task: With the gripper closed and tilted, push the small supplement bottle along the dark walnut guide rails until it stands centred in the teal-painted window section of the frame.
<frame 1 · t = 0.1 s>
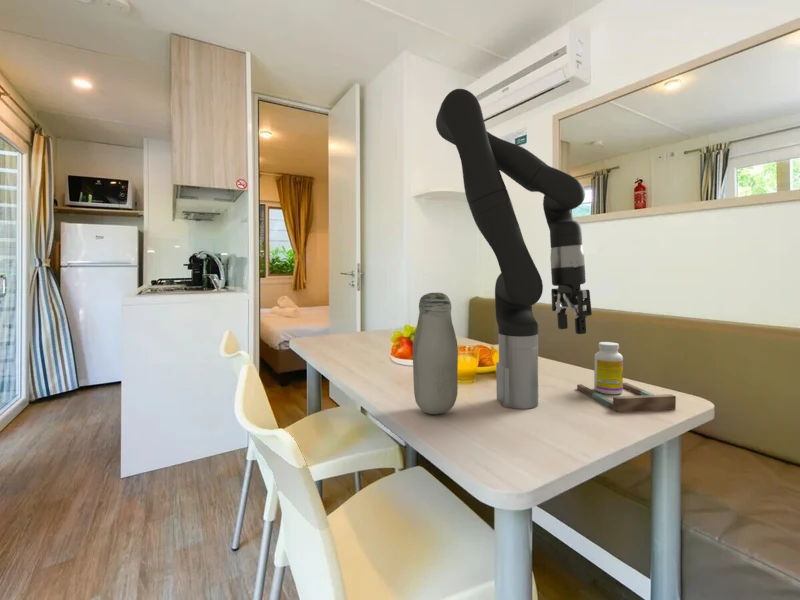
hand: (571, 331, 93), 17 cm above the table, tool pointing down, fingers open, 8 cm apart
supplement bottle: (608, 392, 101), on the table
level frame: (622, 398, 95), on the table
grey bottle: (436, 412, 89), on the table
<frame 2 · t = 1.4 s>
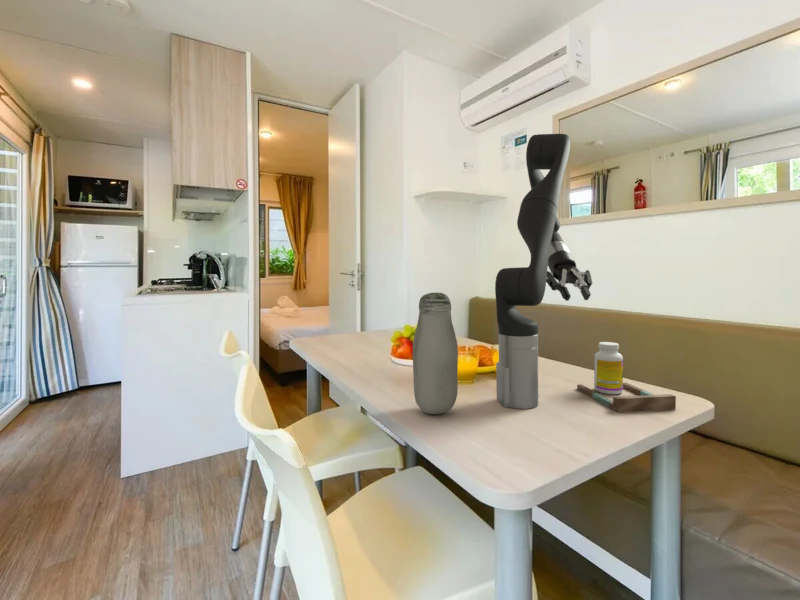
hand: (578, 298, 109), 24 cm above the table, tool tilted 45°, fingers open, 5 cm apart
nothing on the table moved.
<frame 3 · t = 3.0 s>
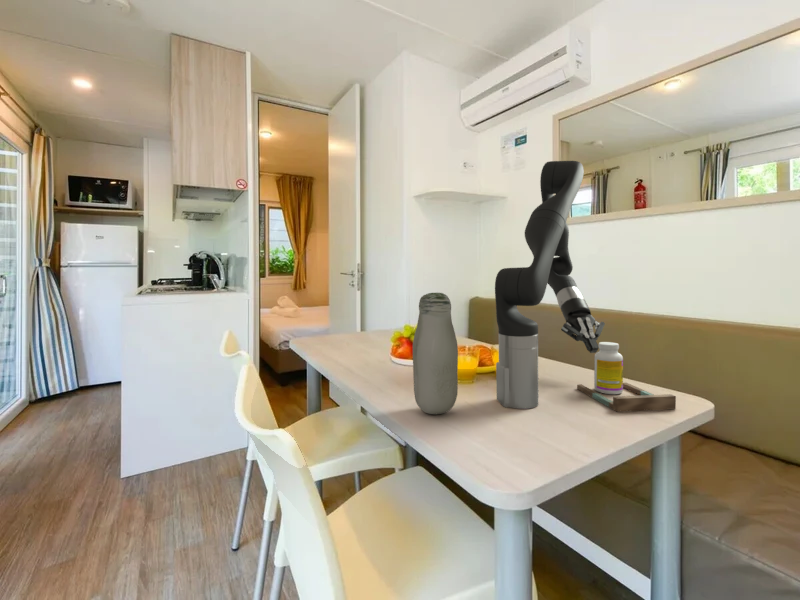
hand: (594, 351, 107), 9 cm above the table, tool tilted 45°, fingers closed
nothing on the table moved.
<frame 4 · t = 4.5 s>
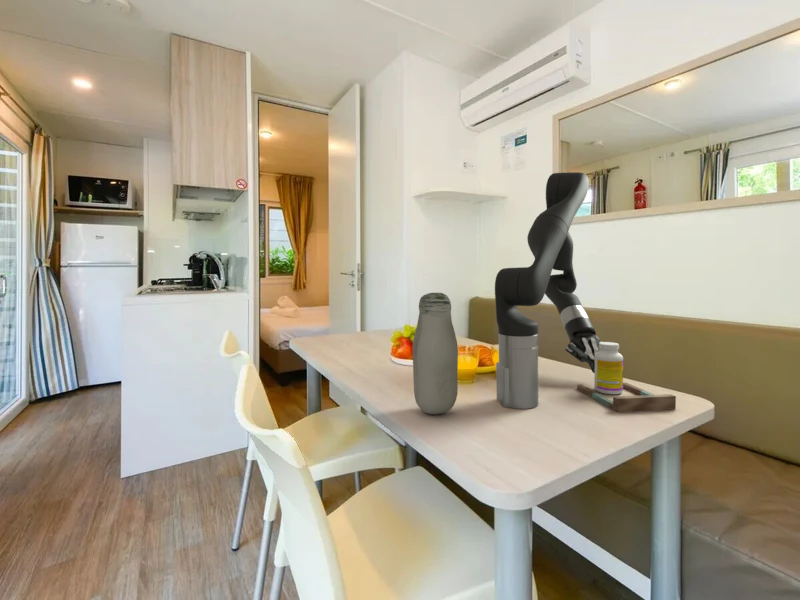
hand: (599, 373, 104), 4 cm above the table, tool tilted 45°, fingers closed
supplement bottle: (608, 392, 101), on the table, touching gripper
everything else where it was.
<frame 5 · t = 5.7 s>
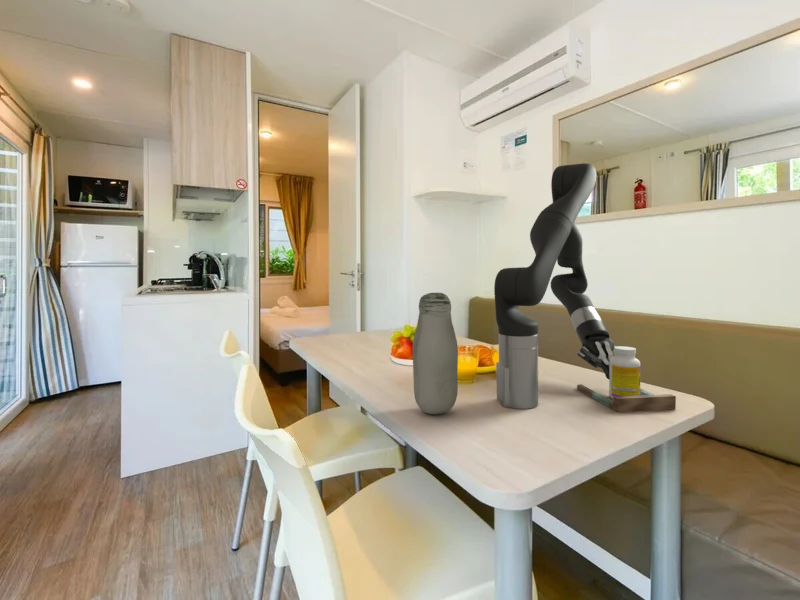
hand: (614, 379, 98), 4 cm above the table, tool tilted 45°, fingers closed
supplement bottle: (624, 399, 94), on the table, touching gripper
everything else where it was.
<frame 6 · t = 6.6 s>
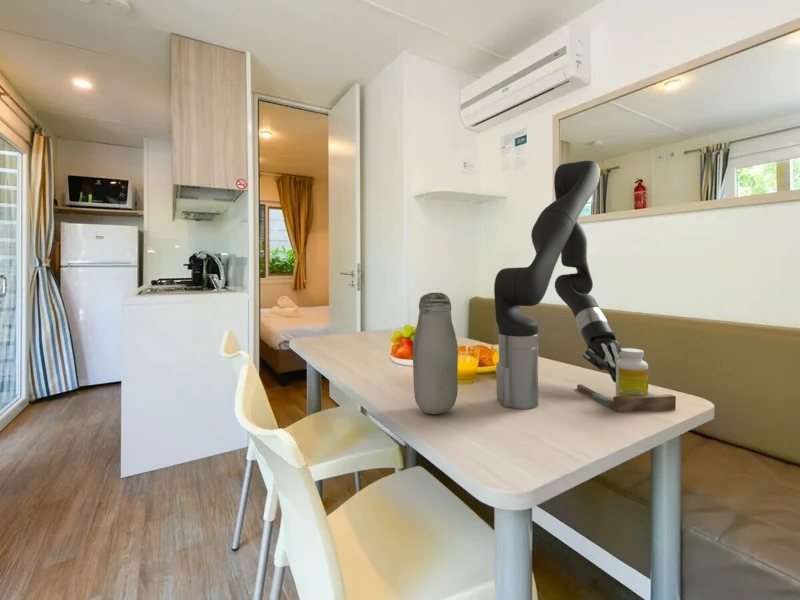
hand: (621, 382, 95), 4 cm above the table, tool tilted 45°, fingers closed
supplement bottle: (631, 403, 92), on the table, touching gripper
everything else where it was.
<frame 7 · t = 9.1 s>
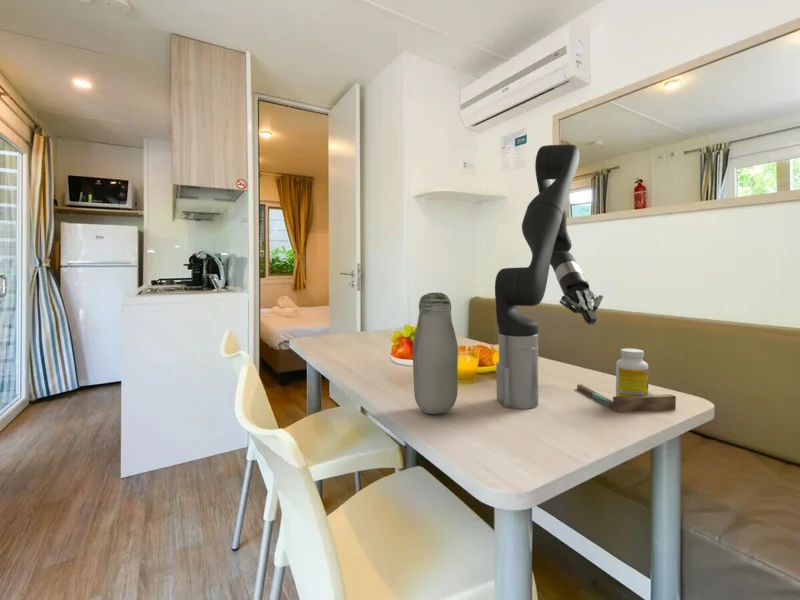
hand: (592, 322, 107), 17 cm above the table, tool tilted 45°, fingers closed
supplement bottle: (631, 403, 92), on the table
everything else where it was.
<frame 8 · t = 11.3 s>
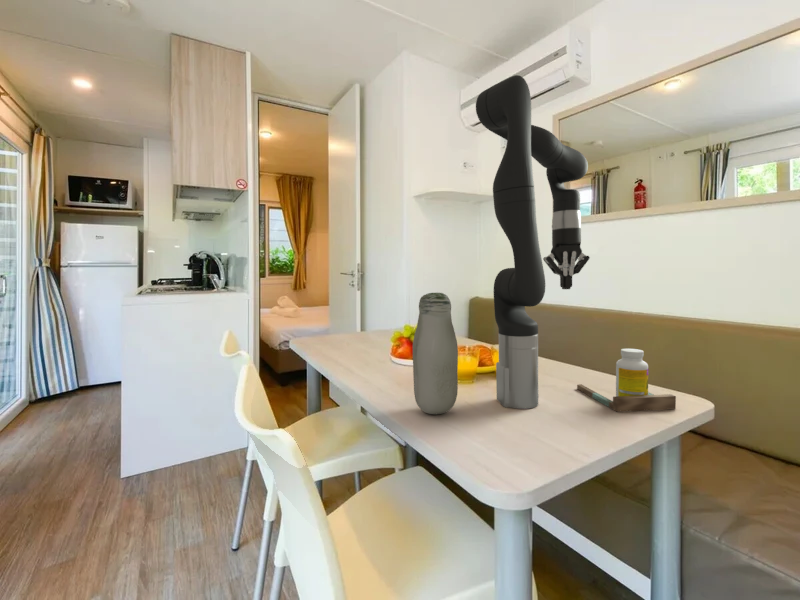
hand: (566, 289, 109), 27 cm above the table, tool pointing down, fingers closed
nothing on the table moved.
at the end: supplement bottle inside the target area (1.0 cm from its centre), on the table; supplement bottle tilted 0°; supplement bottle moved 9.2 cm from its start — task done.
